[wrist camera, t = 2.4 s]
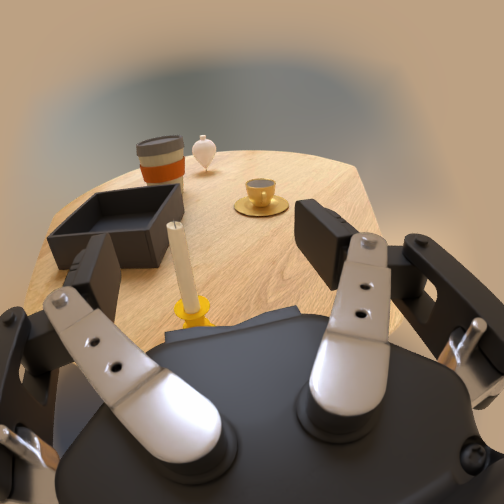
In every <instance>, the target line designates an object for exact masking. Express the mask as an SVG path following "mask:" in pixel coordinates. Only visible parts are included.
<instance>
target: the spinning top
mask: <svg viewBox="0 0 504 504" xmlns="http://www.w3.org/2000/svg"><path fill="white" fill-rule="evenodd" d="M192 153H193V155H194V157H195V158H196V160H197V161H198V162H199V163H200V164H201V165H202V166H203V167H204V168H205V169H206V171H207V168H208V166H209V165H210V163H211V162H212V160H213V158H214V156H215V153H216V146H215V144H214V143H213V142H212V141H211V140H208V139H206V135H201V136H200V140H199V141H197V142H195V144H194V146H193V148H192Z"/></svg>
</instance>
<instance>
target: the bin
mask: <svg viewBox="0 0 504 504" xmlns="http://www.w3.org/2000/svg"><path fill="white" fill-rule="evenodd" d="M183 214H184V206H183V199H182V192H181V186H180V183H175V184H164V185H154V186H145V187H136V188H128V189H120V190H112V191H105V192H98V193H95V194H94V195H93V196H92V197H90V198H89V199H88V200H87V201H86V202H85V203H83V204H82V205H81V206H80V207H79V208H78V209H77V210H75V211H74V212H73V213H72V214H71V215H70V216H69V217H68V218H67V219H66V220H65V221H63V222H62V223H61V224H60V225H59V226H58V227H57V228H56V229H55V230H54V231H53V232H52V233H51V234H50V235H49V236H48V237H47V241H48V243H49V246H50V249H51V251H52V254H53V256H54V259H55V261H56V264H57V266H58V268H59V270H62V269H70V268H71V266H72V263H73V261H74V259H75V257H76V256H77V255H78V254H79V253H80V252H81V251H82V250H83V249H86V247H87V245H88V242H89V240H90V238H91V236H94V235H99V234H104V233H109V235H110V237H111V240H112V243H113V246H114V250H115V253H116V256H117V259H118V262H119V265H120V269H121V268H158V267H159V265H160V263H161V261H162V259H163V256H164V254H165V252H166V250H167V248H168V246H169V238H168V231H167V226H166V225H167V224H168V223H169V222H173V219H174V221H176V222H180V220H181V218H182V216H183Z"/></svg>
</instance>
